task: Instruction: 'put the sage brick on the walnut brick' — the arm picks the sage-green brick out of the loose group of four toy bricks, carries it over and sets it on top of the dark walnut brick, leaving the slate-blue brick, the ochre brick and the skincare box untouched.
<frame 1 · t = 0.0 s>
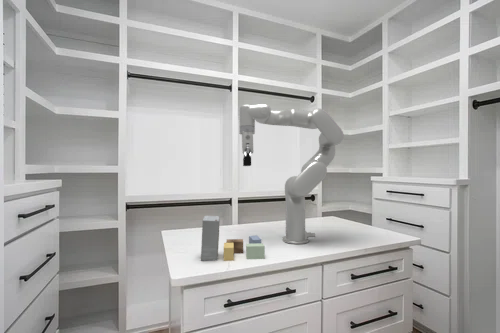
hand: (247, 165, 123), 37 cm above the countertop, tool pointing down, fingers open, 9 cm apart
ochre brick: (228, 257, 100), on the countertop
skincare box: (210, 257, 100), on the countertop
slate brick: (255, 248, 111), on the countertop
sage brick: (255, 257, 100), on the countertop
walnut brick: (234, 252, 107), on the countertop
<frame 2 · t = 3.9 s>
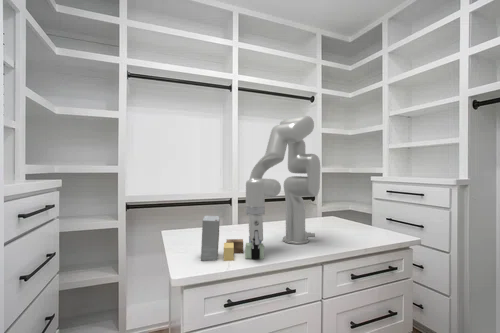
hand: (255, 256, 100), 0 cm above the countertop, tool pointing down, fingers closed on sage brick, 3 cm apart
sage brick: (254, 257, 100), on the countertop, touching gripper
everything else where it was.
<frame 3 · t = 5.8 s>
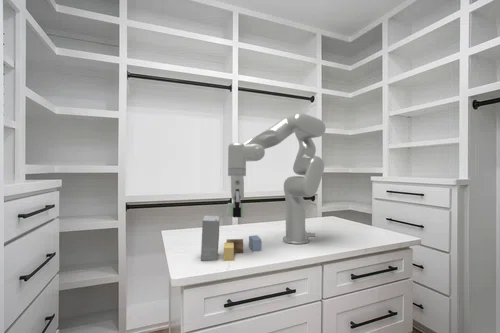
hand: (236, 215, 106), 15 cm above the countertop, tool pointing down, fingers closed on sage brick, 3 cm apart
sage brick: (235, 216, 106), point 15 cm above the countertop, tilted 5°, touching gripper
everything else where it was.
when the fingers open (6 cm above the countertop, at t = 7.8 s): sage brick drops 1 cm, resting on walnut brick.
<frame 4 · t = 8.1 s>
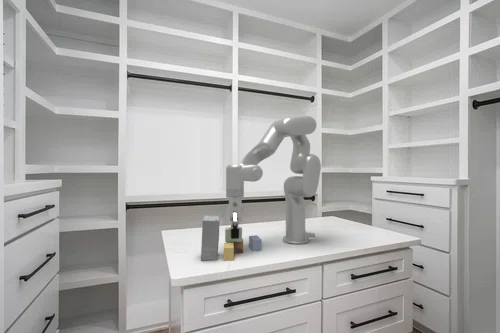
hand: (234, 235, 107), 7 cm above the countertop, tool pointing down, fingers open, 6 cm apart
sage brick: (233, 240, 107), point 5 cm above the countertop, touching walnut brick
walnut brick: (234, 252, 107), on the countertop, touching sage brick
everything else where it was.
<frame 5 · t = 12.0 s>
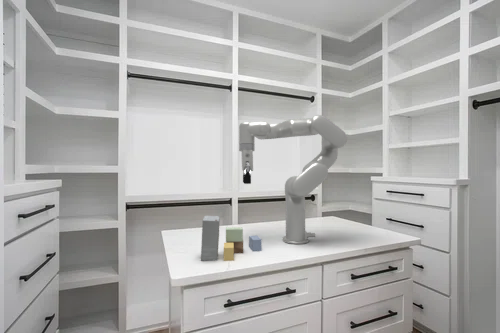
hand: (246, 183, 123), 28 cm above the countertop, tool pointing down, fingers open, 9 cm apart
nothing on the countertop moved.
at the end: sage brick 0.2 cm off-centre on the walnut brick, point 5.0 cm above the walnut brick's base; ochre brick moved 0.1 cm from its start; slate brick moved 0.1 cm from its start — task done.
